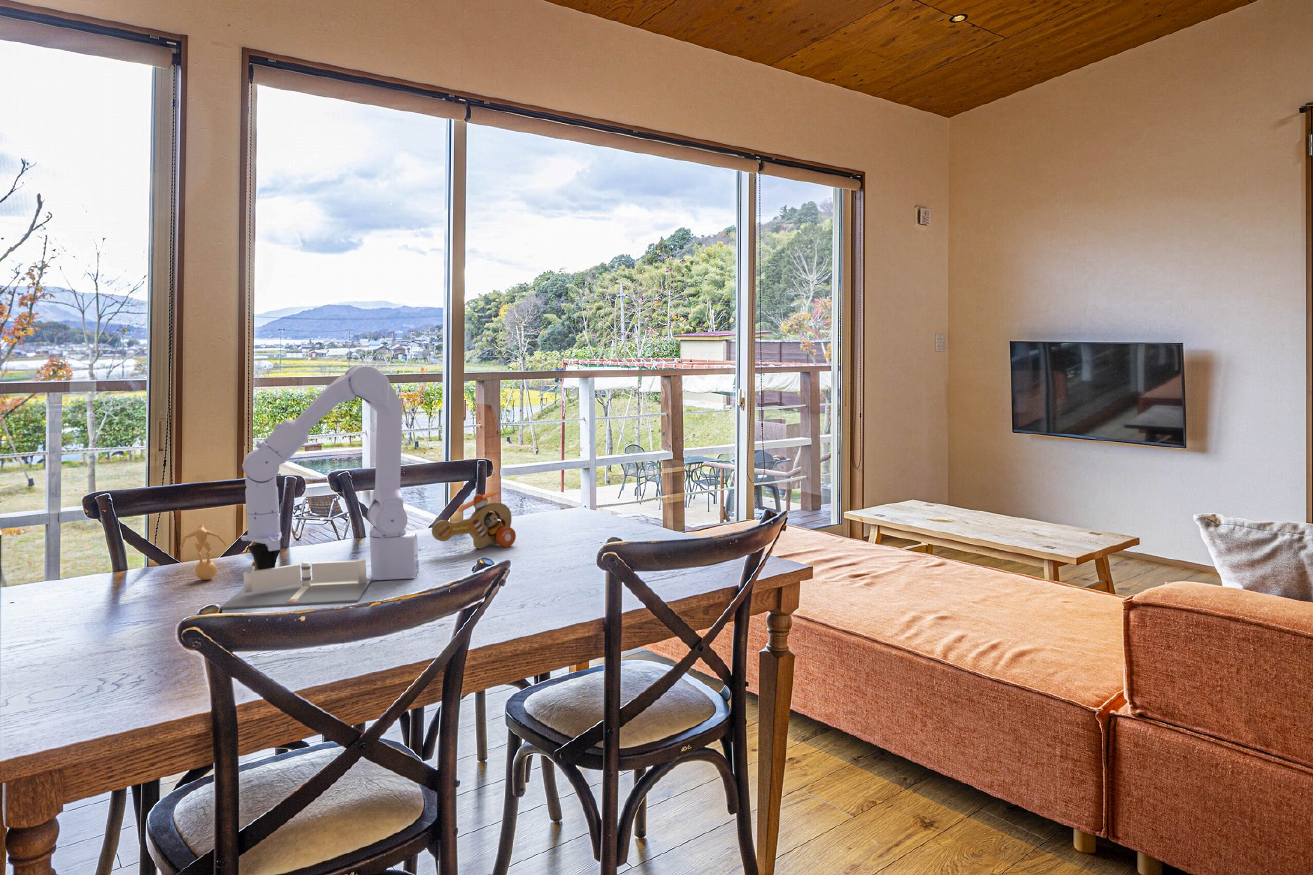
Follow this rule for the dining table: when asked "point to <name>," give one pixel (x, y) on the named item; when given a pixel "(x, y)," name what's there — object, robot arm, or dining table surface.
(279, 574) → the hinged fence panel
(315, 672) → the dining table surface
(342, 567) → the fixed fence section
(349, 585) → the board
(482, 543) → the toy helicopter
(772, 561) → the dining table surface
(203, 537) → the figurine
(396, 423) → the robot arm
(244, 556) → the dining table surface
